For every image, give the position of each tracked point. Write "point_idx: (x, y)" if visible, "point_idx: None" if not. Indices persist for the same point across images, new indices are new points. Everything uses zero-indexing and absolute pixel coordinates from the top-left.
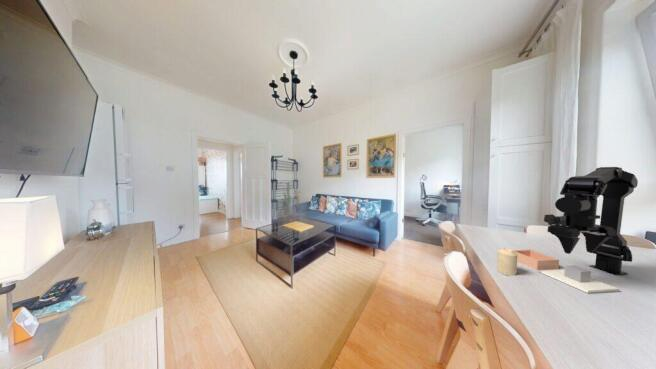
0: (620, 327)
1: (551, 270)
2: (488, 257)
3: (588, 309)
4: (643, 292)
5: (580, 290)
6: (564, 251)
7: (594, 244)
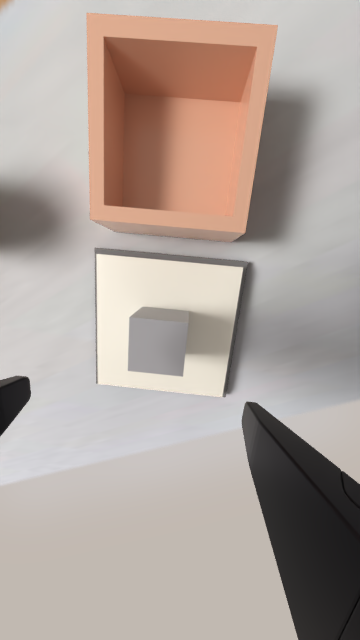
0: (13, 454)
1: (148, 260)
2: (6, 31)
3: None
4: (305, 403)
5: (96, 367)
6: (8, 378)
7: (280, 533)
